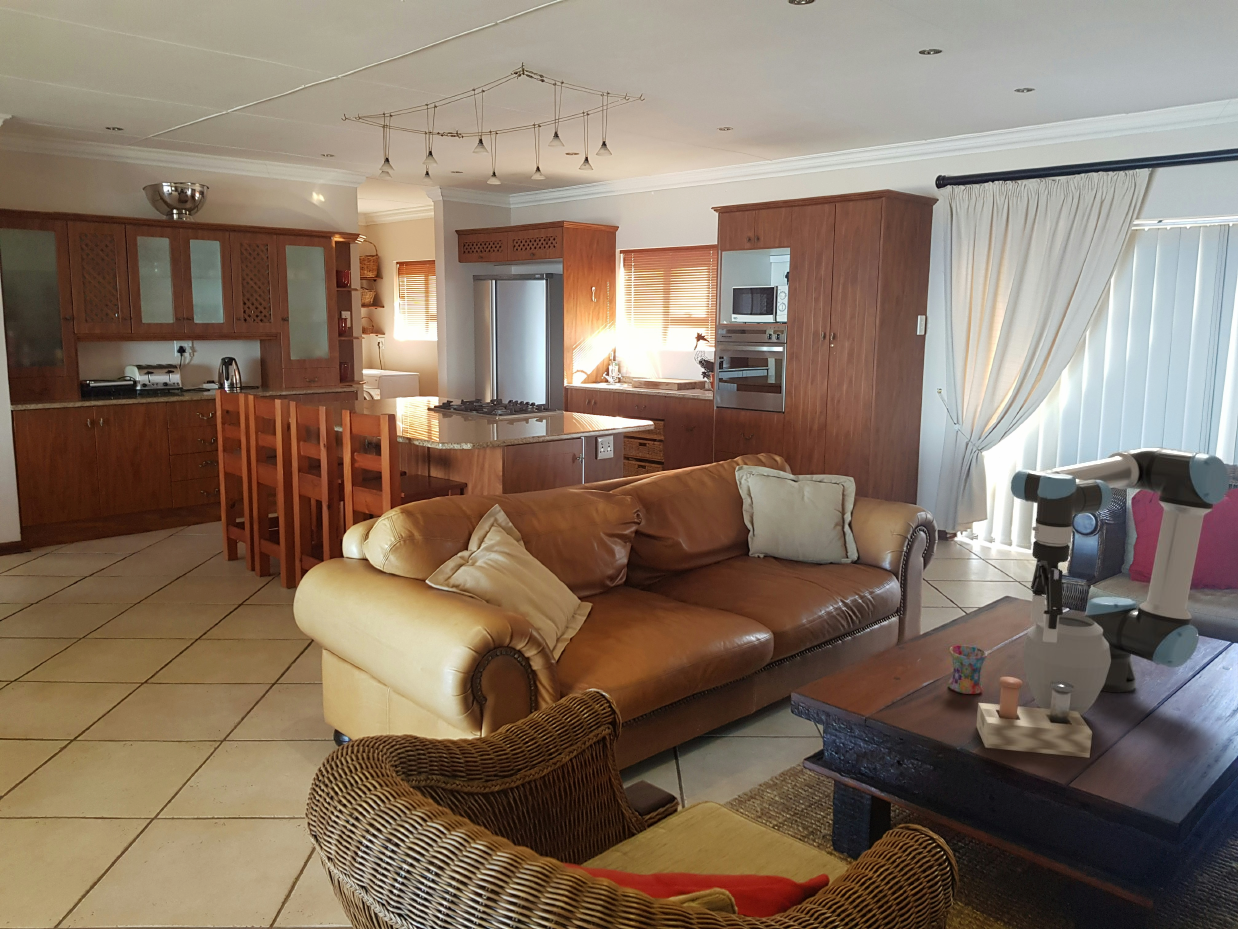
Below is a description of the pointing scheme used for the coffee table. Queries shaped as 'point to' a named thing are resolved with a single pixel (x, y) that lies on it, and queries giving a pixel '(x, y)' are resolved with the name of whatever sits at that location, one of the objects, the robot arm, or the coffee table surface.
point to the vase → (1067, 661)
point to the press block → (1033, 731)
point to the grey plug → (1060, 701)
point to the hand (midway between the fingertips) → (1042, 631)
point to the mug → (967, 669)
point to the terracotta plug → (1009, 697)
